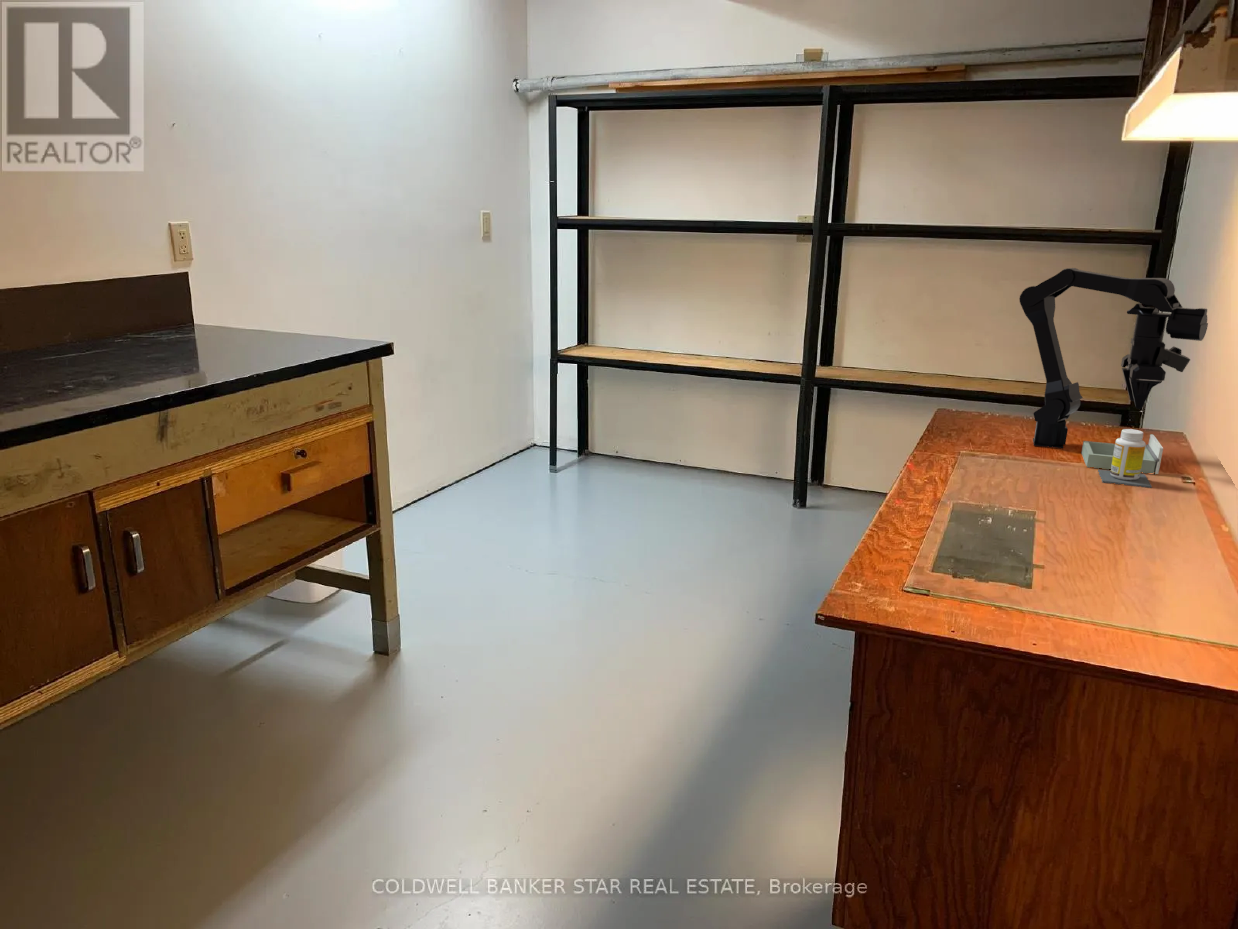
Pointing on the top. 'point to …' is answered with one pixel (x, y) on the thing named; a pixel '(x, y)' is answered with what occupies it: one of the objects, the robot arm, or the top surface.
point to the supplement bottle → (1128, 455)
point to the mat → (1108, 478)
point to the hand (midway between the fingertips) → (1135, 404)
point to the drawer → (1103, 452)
